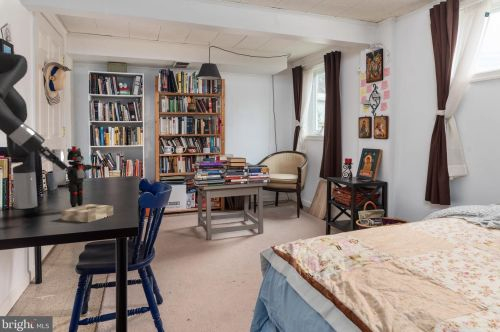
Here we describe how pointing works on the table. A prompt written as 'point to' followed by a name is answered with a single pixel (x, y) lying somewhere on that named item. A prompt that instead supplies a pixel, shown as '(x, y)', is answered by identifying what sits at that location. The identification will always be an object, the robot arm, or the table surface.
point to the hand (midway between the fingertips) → (64, 167)
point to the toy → (76, 175)
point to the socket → (87, 213)
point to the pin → (58, 168)
